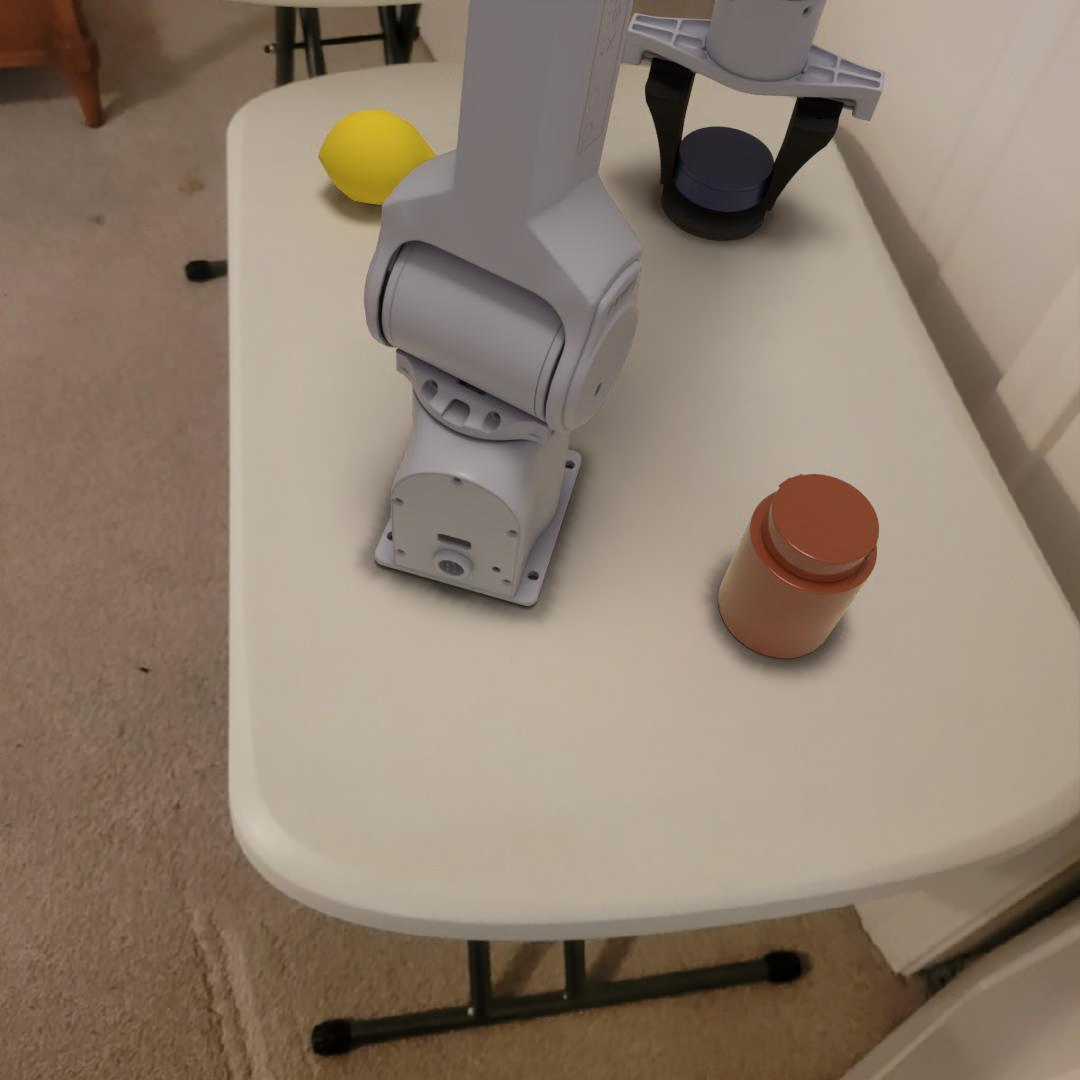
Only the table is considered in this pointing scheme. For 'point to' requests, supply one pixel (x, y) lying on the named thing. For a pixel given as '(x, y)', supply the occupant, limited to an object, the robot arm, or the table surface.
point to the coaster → (709, 217)
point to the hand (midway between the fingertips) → (717, 188)
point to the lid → (723, 168)
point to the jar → (799, 565)
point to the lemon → (372, 154)
